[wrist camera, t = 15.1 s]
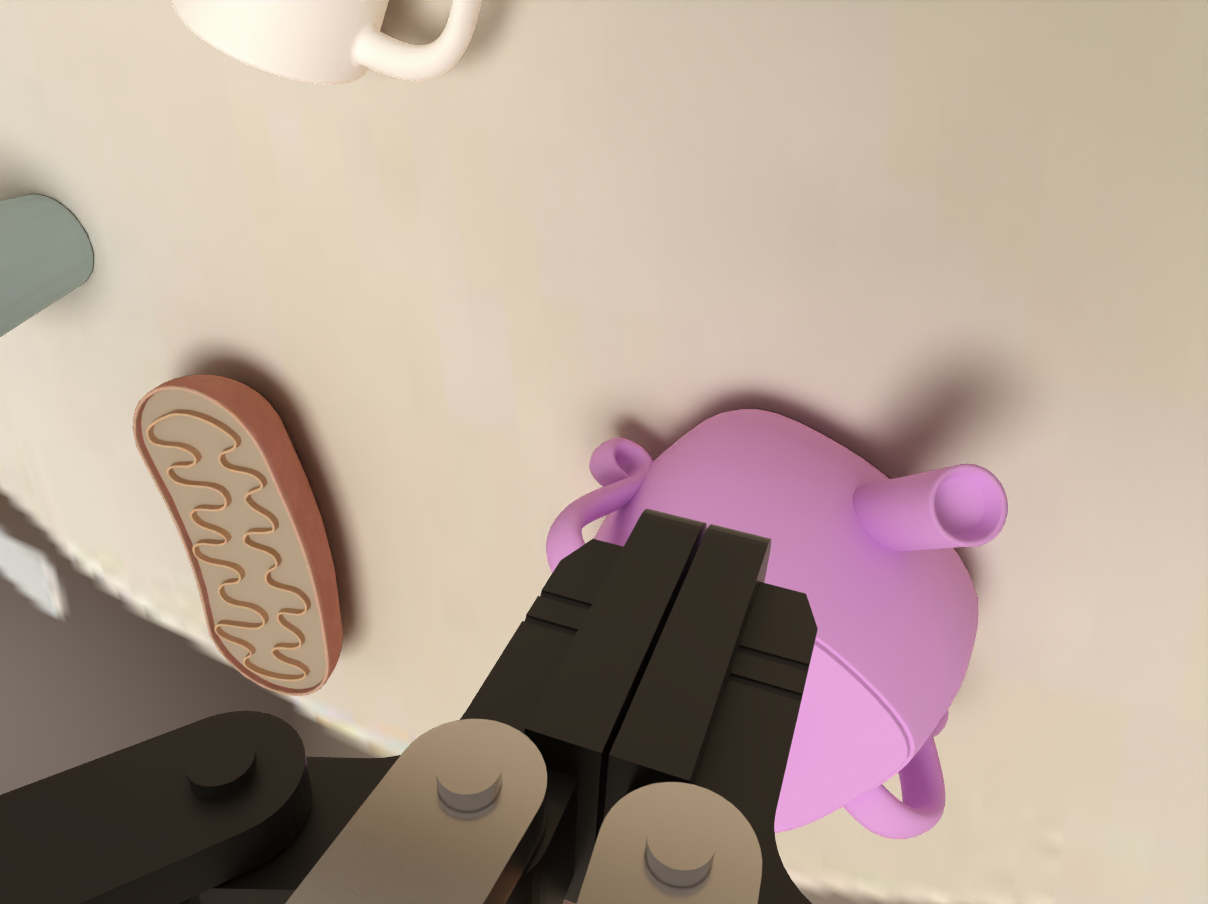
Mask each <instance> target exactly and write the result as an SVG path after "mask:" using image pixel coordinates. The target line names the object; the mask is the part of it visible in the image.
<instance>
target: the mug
mask: <svg viewBox="0 0 1208 904" xmlns="http://www.w3.org/2000/svg"><path fill="white" fill-rule="evenodd" d="M171 2H172V5H173V8H174V10H175V12H176V13H177V15H178V17H179V18H180V19H181V20H182V22H183V23H184V24H185V25H186V26H187V27H188V28H189V29H190V30H191V31H192V32H193V33H194V34H196V35H197V36H198V37H199V38H201V39H202V40H203V41H205V42H206V43H208V44H209V45H211V46H212V47H214V48H215V49H217V50H219V51H220V52H222V53H224V54H226V55H228V56H230V57H231V58H233V59H236V60H238V61H240V62H242V63H244V64H246V65H249V66H251V67H254V68H256V69H259V70H261V71H264V72H267V73H270V74H273V75H276V76H280V77H283V78H287V79H291V80H295V81H300V82H306V83H312V84H324V85H336V84H345V83H349V82H353V81H355V80H357V79H359V78H361V77H362V76H363V75H365V73H366V72H367V71H368V69H369V68H370V69H372V70H374V71H377V72H379V73H382V74H384V75H387V76H390V77H393V78H397V79H401V80H407V81H425V80H430V79H434V78H436V77H439V76H441V75H443V74H445V73H446V72H448V71H449V70H450V69H451V68H452V67H454V66H455V65H456V63H457V62H458V61H459V60H460V59H461V57H462V56H463V54H464V53H465V51H466V49H467V47H468V46H469V44H470V41H471V39H472V37H473V34H474V31H475V28H476V25H477V21H478V17H479V13H480V8H481V2H482V0H452V6H451V11H450V15H449V18H448V21H447V24H446V27H445V29H444V31H443V32H442V34H441V35H440V37H439V38H438V39H436V40H435V41H434V42H432V43H429V44H425V45H415V44H410V43H406V42H403V41H400V40H397V39H395V38H392V37H390V36H388V35H386V34H384V33H382V32H380V29H381V26H382V22H383V19H384V16H385V12H386V9H387V5H388V2H389V0H171Z"/></svg>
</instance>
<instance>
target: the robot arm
mask: <svg viewBox="0 0 1208 904" xmlns="http://www.w3.org/2000/svg"><path fill="white" fill-rule="evenodd" d="M770 549H771V539H770V538H766V537H762V536H758V535H754V534H750V533H746V532H742V531H738V530H734V529H729V528H725V527H721V526H717V525H713V524H710V525H709V526H708V528H707V524H706V523H704V522H700V521H696V520H692V519H688V518H684V517H680V516H676V515H672V514H668V513H664V512H660V511H656V510H651V509H645V510H644V511H643V512H642V514H641V516H640V517H639V519H638V521H637V523H636V525H635V527H634V528H633V530H632V532H631V534H630V536H629V538H628V539H627V541H626V543H625V545H624V547H623V546H620V545H616V544H612V543H608V542H604V541H600V540H596V539H592V540H590V541H589V542H587V543H586V544H584V545H583V546H581V547H580V548H578V549H577V550H575V551H574V552H572V553H571V554H569V555H568V556H566V557H565V558H563V559H562V560H560V562H559V563H558V565H557V567H556V568H555V570H554V571H553V573H552V575H551V576H550V578H549V579H548V581H547V583H546V584H545V586H544V587H543V589H542V592H541V596H538V597H537V599H536V600H535V602H534V603H533V605H532V607H531V608H530V610H529V611H528V613H527V615H526V619H525V621H522V623H521V624H520V626H519V627H518V629H517V631H516V632H515V634H514V635H513V637H512V639H511V640H510V642H509V643H508V645H507V647H506V648H505V650H504V651H503V653H502V655H501V656H500V658H499V659H498V661H497V663H496V664H495V666H494V667H493V669H492V670H491V672H490V674H489V675H488V677H487V678H486V680H485V682H484V683H483V685H482V686H481V688H480V690H479V691H478V693H477V694H476V696H475V698H474V699H473V701H472V702H471V704H470V706H469V707H468V709H467V710H466V712H465V713H464V715H463V716H462V717H461V719H460V720H457V721H453V722H449V723H445V724H442V725H440V726H438V727H435V728H433V729H431V730H429V731H427V732H426V733H424V734H422V735H421V736H420V737H418V738H417V739H416V740H415V741H413V742H412V743H411V744H410V745H409V746H408V747H407V749H406V750H405V751H404V752H403V753H402V754H401V755H399V756H393V757H386V758H330V757H306V755H305V749H304V746H303V743H302V740H301V738H300V737H299V735H298V733H297V732H296V731H295V730H294V729H293V728H292V727H291V726H290V725H289V724H288V723H286V722H285V721H283V720H282V719H280V718H277V717H275V716H273V715H270V714H266V713H261V712H254V711H236V712H228V713H223V714H218V715H215V716H211V717H208V718H205V719H202V720H200V721H197V722H194V723H192V724H189V725H186V726H184V727H181V728H178V729H176V730H173V731H170V732H168V733H165V734H162V735H160V736H157V737H154V738H152V739H149V740H146V741H144V742H141V743H138V744H136V745H133V746H130V747H128V748H125V749H122V750H120V751H117V752H114V753H112V754H109V755H106V756H104V757H101V758H98V759H95V760H93V761H90V762H88V763H85V764H82V765H80V766H77V767H74V768H72V769H69V770H66V771H64V772H61V773H58V774H55V775H53V776H50V777H48V778H45V779H42V780H39V781H37V782H34V783H31V784H29V785H26V786H24V787H21V788H18V789H16V790H13V791H10V792H7V793H5V794H2V795H0V904H562V903H563V901H564V899H566V900H569V901H571V902H574V903H577V904H812V903H811V902H810V901H809V900H808V899H807V898H806V897H805V896H804V895H803V894H802V893H801V892H800V890H799V889H798V888H797V886H796V885H795V884H794V882H793V881H792V880H791V878H790V876H789V875H788V873H787V871H786V869H785V868H784V866H783V863H782V861H781V858H780V856H779V853H778V850H777V845H776V841H775V831H774V822H775V815H776V809H777V805H778V800H779V796H780V792H781V787H782V783H783V779H784V774H785V770H786V766H787V761H788V757H789V752H790V748H791V744H792V739H793V735H794V731H795V726H796V722H797V718H798V713H799V709H800V705H801V700H802V696H803V691H804V687H805V683H806V678H807V674H808V670H809V665H810V661H811V657H812V652H813V648H814V644H815V639H816V635H817V630H818V628H817V625H816V622H815V619H814V616H813V613H812V610H811V607H810V604H809V601H808V598H807V595H806V593H802V592H798V591H794V590H790V589H786V588H782V587H779V586H775V585H771V584H767V583H764V582H765V577H766V571H767V566H768V561H769V555H770Z"/></svg>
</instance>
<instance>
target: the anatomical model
mask: <svg viewBox="0 0 1208 904" xmlns="http://www.w3.org/2000/svg"><path fill="white" fill-rule="evenodd" d="M133 432H134V437H135V442H136V446H137V448H138V451H139V453H140V455H141V457H142V459H143V461H144V463H145V465H146V467H147V469H148V471H149V472H150V474H151V476H152V478H153V480H154V482H155V484H156V486H157V488H158V490H159V492H160V494H161V496H162V497H163V499H164V502H165V504H166V506H167V508H168V510H169V512H170V514H171V516H172V519H173V521H174V523H175V525H176V528H177V530H178V532H179V535H180V537H181V540H182V542H183V544H184V547H185V550H186V552H187V555H188V558H189V561H190V564H191V567H192V569H193V573H194V576H195V579H196V583H197V586H198V590H199V593H200V597H201V601H202V605H203V609H204V614H205V618H206V622H207V626H208V630H209V634H210V637H211V639H212V640H213V642H214V643H215V645H216V647H217V648H218V650H219V652H220V653H221V654H222V655H223V656H224V657H225V658H226V660H227V661H228V662H229V663H230V664H231V665H232V666H233V667H234V668H235V669H237V670H238V671H239V672H240V673H241V674H242V675H244V676H245V677H247V678H248V679H250V680H252V681H253V682H255V683H257V684H258V685H260V686H262V687H264V688H267V689H269V690H272V691H275V692H277V693H280V694H285V695H293V696H303V695H308V694H311V693H314V692H316V691H317V690H319V689H321V687H322V686H323V685H324V684H325V683H326V682H327V680H328V678H329V677H330V675H331V673H332V672H333V670H334V668H335V666H336V664H337V661H338V659H339V656H340V652H341V647H342V640H343V630H342V622H341V614H340V606H339V598H338V591H337V583H336V575H335V568H334V564H333V560H332V556H331V552H330V548H329V544H328V540H327V536H326V532H325V528H324V524H323V520H322V517H321V515H320V512H319V509H318V506H317V504H316V501H315V498H314V496H313V493H312V490H311V487H310V485H309V482H308V479H307V477H306V475H305V472H304V470H303V468H302V465H301V463H300V461H299V459H298V456H297V454H296V452H295V450H294V447H293V445H292V443H291V441H290V438H289V436H288V434H287V431H286V429H285V427H284V425H283V422H282V420H281V418H280V417H279V415H278V414H277V412H276V411H275V410H274V408H273V407H272V406H271V405H270V403H269V402H268V401H267V400H266V399H265V398H264V397H262V396H261V395H260V394H259V393H258V392H256V391H255V390H253V389H252V388H250V387H248V386H247V385H245V384H243V383H241V382H238V381H236V380H233V379H229V378H226V377H222V376H216V375H190V376H185V377H180V378H176V379H173V380H170V381H168V382H165V383H163V384H161V385H160V386H158V387H156V388H155V389H153V390H151V391H150V392H148V393H147V394H146V395H145V396H144V397H143V398H142V399H141V400H140V401H139V403H138V405H137V407H136V409H135V413H134V418H133Z"/></svg>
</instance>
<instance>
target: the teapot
mask: <svg viewBox="0 0 1208 904" xmlns="http://www.w3.org/2000/svg"><path fill="white" fill-rule="evenodd" d="M589 466H590V470H591V474H592V475H593V477H594V478H595V479H596V480H597V482H598V483H600V484H601V485H602V486H604V487H602V488H599V489H597V490H594V491H592V492H590V493H588V494H586V495H584V496H582V497H580V498H579V499H577V500H575V501H574V502H572V503H571V504H570V505H568V506H567V507H566V508H565V509H564V510H563V511H562V512H561V513H560V514H559V516H558V517H557V518H556V519H555V521H554V523H553V524H552V526H551V528H550V531H549V533H548V536H547V543H546V554H547V559H548V563H549V566H550V569H551V571H552V573H553V571H554V570H555V568H556V567H557V565H558V563H559V562H560V560H562V559H563V558H565V557H566V556H568V555H569V554H571V553H572V552H574V551H575V550H577V549H578V548H580V547H581V546H583V545H584V544H585V543H584V540H583V537H582V532H581V531H582V528H583V527H584V526H585V525H587V524H588V523H590V522H592V521H594V520H596V519H598V518H600V517H603V516H605V515H607V514H608V516H607V517H606V519H605V521H604V522H603V524H602V525H601V527H600V529H599V530H598V532H597V534H596V536H595V538H594V539H596V540H600V541H604V542H608V543H612V544H616V545H620V546H623V547H624V545H625V543H626V541H627V539H628V538H629V536H630V534H631V532H632V530H633V528H634V527H635V525H636V523H637V521H638V519H639V517H640V516H641V514H642V512H643V511H644V510H645V509H651V510H656V511H660V512H664V513H668V514H672V515H676V516H680V517H684V518H688V519H692V520H696V521H700V522H704V523H706V524H707V528H708V526H709V525H710V524H713V525H717V526H721V527H725V528H729V529H734V530H738V531H742V532H746V533H750V534H754V535H758V536H762V537H766V538H770V539H771V549H770V555H769V561H768V566H767V571H766V577H765V582H764V583H767V584H771V585H775V586H779V587H782V588H786V589H790V590H794V591H798V592H802V593H806V595H807V598H808V601H809V604H810V607H811V610H812V613H813V616H814V619H815V622H816V625H817V628H818V630H817V635H816V639H815V644H814V648H813V652H812V657H811V661H810V665H809V670H808V674H807V678H806V683H805V687H804V691H803V696H802V700H801V705H800V709H799V713H798V718H797V722H796V726H795V731H794V735H793V739H792V744H791V748H790V752H789V757H788V761H787V766H786V770H785V774H784V779H783V783H782V787H781V792H780V796H779V800H778V805H777V809H776V815H775V822H774V831H775V833H778V832H783V831H789V830H792V829H795V828H798V827H801V826H804V825H807V824H809V823H811V822H813V821H816V820H818V819H820V818H822V817H824V816H826V815H828V814H830V813H832V812H834V811H835V810H837V809H839V808H841V807H844V808H845V809H846V810H847V811H848V812H849V813H850V814H851V815H852V816H853V818H854V819H856V820H857V821H858V822H859V823H860V824H861V825H862V826H864V827H865V828H867V829H868V830H870V831H871V832H873V833H875V834H878V835H880V836H882V837H886V838H891V839H907V838H911V837H916V836H918V835H921V834H923V833H924V832H926V831H928V830H930V829H931V828H932V827H933V826H934V825H935V824H936V823H937V822H938V821H939V820H940V818H941V816H942V814H943V811H944V806H945V786H944V780H943V774H942V770H941V765H940V761H939V757H938V753H937V749H936V746H935V742H934V738H933V737H934V736H936V735H938V734H939V733H940V732H941V731H942V729H943V728H944V727H945V725H946V722H947V720H948V708H949V706H950V705H951V703H952V701H953V699H954V698H955V696H956V694H957V692H958V691H959V688H960V686H961V684H962V681H963V679H964V676H965V674H966V671H967V668H968V664H969V660H970V657H971V653H972V650H973V646H974V642H975V637H976V631H977V624H978V597H977V594H976V592H975V589H974V586H973V583H972V581H971V578H970V575H969V573H968V571H967V569H966V567H965V566H964V564H963V562H962V560H961V559H960V557H959V555H958V554H957V552H956V551H955V550H954V548H957V547H973V546H980V545H983V544H986V543H987V542H989V541H991V540H992V539H993V538H995V537H996V536H997V535H998V534H999V532H1000V531H1001V530H1002V528H1003V526H1004V524H1005V521H1006V517H1007V511H1008V503H1007V497H1006V494H1005V490H1004V488H1003V486H1002V484H1001V483H1000V482H999V480H998V479H997V478H996V477H995V476H994V475H993V474H992V473H991V472H990V471H988V470H987V469H985V468H983V467H980V466H978V465H973V464H960V465H955V466H951V467H946V468H941V469H937V470H932V471H927V472H923V473H918V474H913V475H908V476H904V477H899V478H894V479H889V478H888V477H887V476H885V475H884V474H883V473H882V472H880V471H879V470H878V469H876V468H875V467H874V466H872V465H871V464H870V463H868V462H867V461H866V460H864V459H863V458H861V457H860V456H858V455H857V454H855V453H853V452H852V451H850V450H849V449H847V448H846V447H844V446H842V445H840V444H839V443H837V442H835V441H833V440H832V439H830V438H828V437H826V436H825V435H823V434H821V433H819V432H817V431H815V430H813V429H811V428H809V427H807V426H805V425H803V424H801V423H800V422H797V421H795V420H792V419H790V418H787V417H785V416H782V415H780V414H777V413H773V412H769V411H764V410H760V409H740V410H734V411H728V412H723V413H720V414H718V415H715V416H713V417H711V418H709V419H706V420H704V421H703V422H701V423H700V424H699V425H697V426H696V427H694V428H693V429H692V430H690V431H689V432H688V433H686V434H685V435H683V436H682V437H681V438H680V439H679V440H677V441H676V442H675V443H674V444H673V445H672V446H670V447H669V448H668V449H667V450H666V451H664V452H663V453H662V454H661V455H660V456H659V457H657V458H656V459H655V460H654V461H653V460H652V458H651V456H650V455H649V454H648V452H647V451H646V450H645V449H644V448H642V447H641V446H640V445H638V444H636V443H635V442H633V441H630V440H628V439H625V438H613V439H610V440H608V441H606V442H604V443H602V444H601V445H600V446H599V447H597V448H596V449H595V451H594V452H593V454H592V456H591V460H590V465H589ZM898 772H899V777H900V783H901V789H902V798H903V803H902V802H901V801H899V800H898V799H897V798H896V797H895V796H894V795H892V794H891V793H890V792H889V791H888V790H887V789H886V788H885V787H884V786H883V785H882V783H884V782H885V781H887V780H888V779H890V778H891V777H893V776H894V775H895V774H897V773H898Z"/></svg>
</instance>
